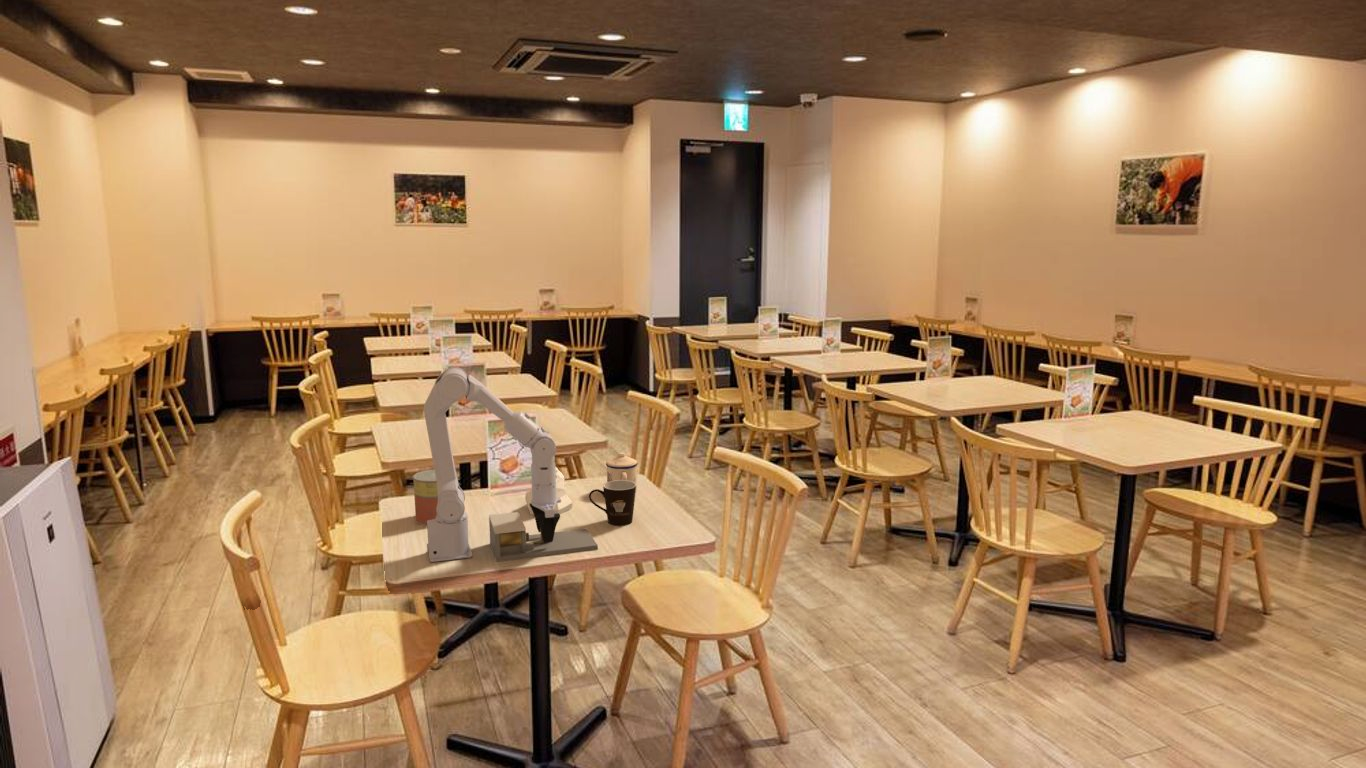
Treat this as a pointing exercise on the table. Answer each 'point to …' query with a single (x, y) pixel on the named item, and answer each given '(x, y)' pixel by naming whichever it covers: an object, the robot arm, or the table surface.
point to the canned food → (425, 496)
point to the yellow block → (514, 538)
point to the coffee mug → (618, 501)
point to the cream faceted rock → (560, 493)
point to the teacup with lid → (622, 468)
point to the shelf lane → (534, 539)
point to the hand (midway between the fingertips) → (545, 536)
